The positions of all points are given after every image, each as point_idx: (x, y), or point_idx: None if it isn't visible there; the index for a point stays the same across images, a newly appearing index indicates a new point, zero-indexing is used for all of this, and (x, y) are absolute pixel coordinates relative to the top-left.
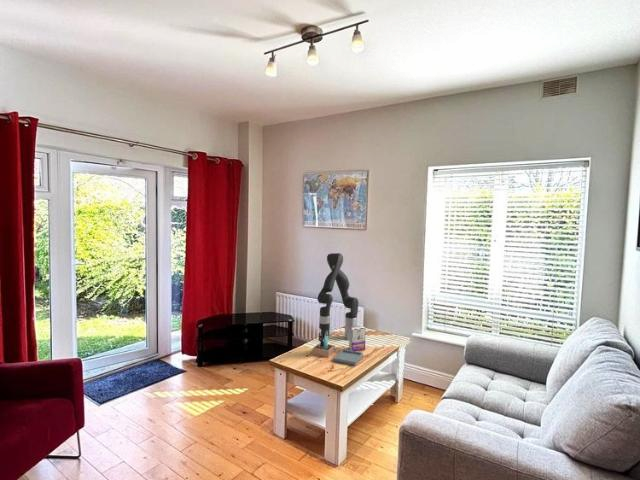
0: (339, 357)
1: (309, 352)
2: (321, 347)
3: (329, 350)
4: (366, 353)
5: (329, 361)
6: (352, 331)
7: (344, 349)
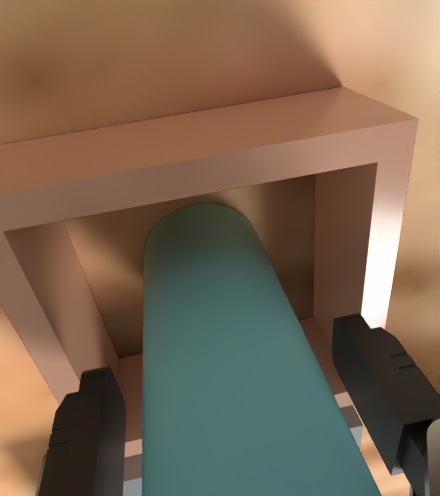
0: None
1: (34, 7)
2: (143, 327)
3: (129, 455)
4: (401, 488)
5: (13, 433)
6: None
7: (357, 440)
